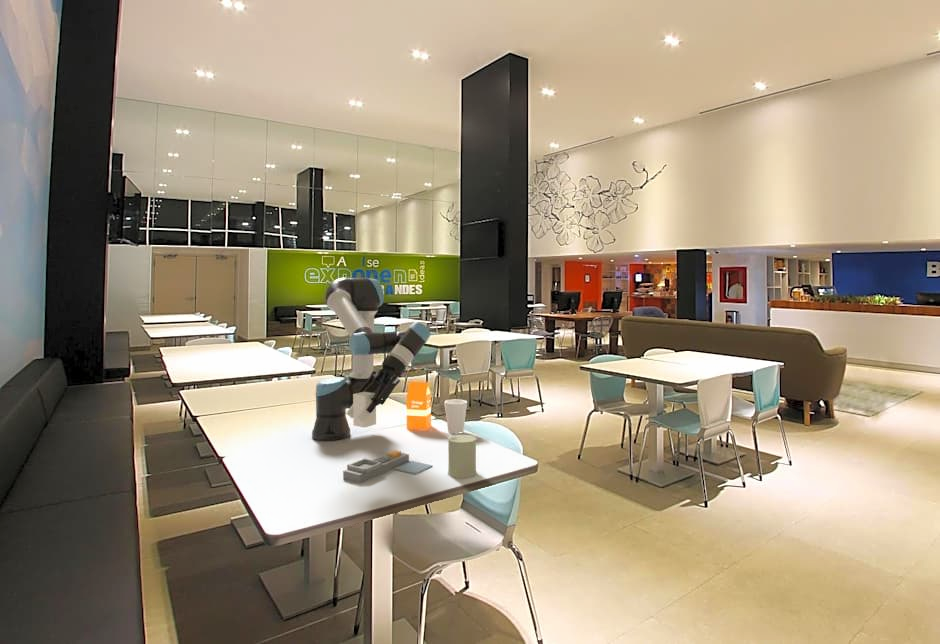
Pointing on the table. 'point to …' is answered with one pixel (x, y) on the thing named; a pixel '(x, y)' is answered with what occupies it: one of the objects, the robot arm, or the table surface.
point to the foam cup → (455, 415)
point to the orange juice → (418, 406)
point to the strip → (374, 466)
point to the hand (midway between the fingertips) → (354, 417)
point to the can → (462, 456)
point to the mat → (413, 467)
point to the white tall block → (358, 405)
